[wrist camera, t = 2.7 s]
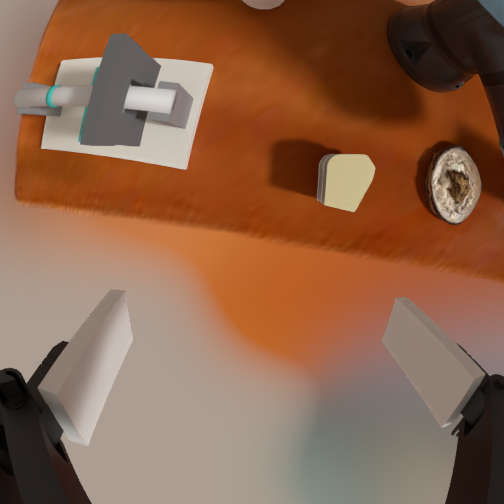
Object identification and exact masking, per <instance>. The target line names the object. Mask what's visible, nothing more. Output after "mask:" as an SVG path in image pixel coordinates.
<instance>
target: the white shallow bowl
mask: <svg viewBox="0 0 504 504" xmlns="http://www.w3.org/2000/svg"><path fill="white" fill-rule="evenodd" d="M454 141H455V140H454ZM432 153H433V154H434V156H433V158H432V161H431V163H430V166H429V167H428V175H427V177H426V180H425V192H426V194H427V196H428V197H427V198H428V204H429V207H430V209H431V211H432V212H433V213H434V214H436V215H438V216H439V217H440V218H441V219H442V220H444V221H445V222H447V223H449V224H452V225H457V224H460V223H461V222H463V221H464V220H465V219H466V218H467V217H468V216H469V214H470V213H471V212H472V210H473V209H474V207H475V206H476V203H477V202H478V199H479V197H480V193H481V179H480V174H479V171H478V168H477V166H476V164H475V163H474V161H473V159H472V158H471V156H470V155H469V153H468V152H467V151H466V150H465V149H464V148H463V147H462V146H459V145H450V146H447V147H444V148H443V149H441V150H440V151H439V152H437V153H436V154H435V153H434V152H432Z"/></svg>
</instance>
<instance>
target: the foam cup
mask: <svg viewBox="0 0 504 504" xmlns="http://www.w3.org/2000/svg"><path fill="white" fill-rule="evenodd" d="M242 1H243V2H244V3H246V4H247V5H248V6H250V7H253V8H257V9H272V8H275V7H278V6H280V5H281V4H282V3H283V2H284V1H285V0H242Z"/></svg>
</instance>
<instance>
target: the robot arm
mask: <svg viewBox="0 0 504 504" xmlns="http://www.w3.org/2000/svg"><path fill="white" fill-rule="evenodd" d="M387 35H388V40H389V43H390V46H391V49H392V51H393V53H394V55H395V57H396V59H397V60H398V62H399V63H400V65H401V66H402V67H403V69H404V70H405V71H406V72H407V73H408V74H409V75H410V76H411V77H412V78H413V79H414V80H415V81H416V82H418V83H419V84H420V85H422V86H423V87H425V88H427V89H429V90H432V91H435V92H441V93H443V92H449V91H454V90H457V89H459V88H460V87H462V86H463V85H464V84H465V83H466V82H467V81H469V80H470V79H471V78H472V77H473V76H474V75H475V74H479V76H480V78H481V81H482V83H483V87H484V89H485V92H486V95H487V98H488V101H489V104H490V107H491V110H492V113H493V117H494V120H495V124H496V127H497V131H498V135H499V145H500V148H501V150H502V152H503V156H504V0H435V1H433V2H432V3H430V4H425V5H418V6H408V7H404V8H402V9H400V10H399V11H398V12H396V13H395V14H394V15H393V16H392V17H391V18H390V20H389V22H388V26H387ZM132 341H133V337H132V331H131V326H130V320H129V313H128V307H127V300H126V292H125V291H121V290H110V291H109V292H108V293H107V295H106V296H105V297H104V298H103V299H102V301H101V302H100V303H99V304H98V306H97V307H96V308H95V309H94V311H93V312H92V313H91V314H90V316H89V317H88V318H87V319H86V321H85V322H84V323H83V325H82V326H81V327H80V328H79V330H78V331H77V332H76V334H75V335H74V336H73V338H72V339H71V340H70V342H65V341H62V342H61V343H59V344H57V345H56V346H54V347H53V348H52V350H51V351H50V352H49V353H48V355H47V358H45V359H44V360H43V361H42V364H40V366H39V367H38V368H37V370H36V371H35V372H34V374H33V375H32V377H31V378H30V380H29V381H28V382H27V384H26V382H25V380H24V378H23V376H22V374H21V373H20V372H19V371H18V370H17V369H13V368H5V369H3V370H0V504H92V503H91V502H90V500H89V498H88V496H87V494H86V492H85V491H84V489H83V487H82V485H81V483H80V481H79V479H78V477H77V474H76V472H75V470H74V468H73V466H72V464H71V461H70V459H69V457H68V454H67V452H66V449H65V447H64V444H63V442H62V441H61V439H60V438H61V435H62V433H63V432H64V433H65V434H66V436H67V437H68V439H69V440H70V441H73V442H75V443H78V444H82V445H85V446H88V444H89V442H90V439H91V436H92V434H93V431H94V428H95V426H96V423H97V421H98V418H99V416H100V413H101V411H102V408H103V406H104V404H105V401H106V399H107V396H108V394H109V392H110V389H111V387H112V385H113V383H114V380H115V378H116V376H117V373H118V371H119V369H120V367H121V365H122V362H123V360H124V358H125V356H126V354H127V351H128V349H129V347H130V345H131V343H132ZM382 343H383V344H384V345H385V347H386V348H387V349H388V351H389V352H390V353H391V355H392V356H393V358H394V359H395V360H396V362H397V363H398V365H399V366H400V367H401V369H402V370H403V371H404V373H405V374H406V376H407V377H408V379H409V380H410V382H411V383H412V384H413V386H414V387H415V389H416V390H417V392H418V393H419V395H420V396H421V398H422V399H423V400H424V402H425V403H426V405H427V406H428V408H429V409H430V411H431V412H432V414H433V415H434V417H435V418H436V420H437V421H438V423H439V425H440V426H441V427H445V426H447V425H449V424H452V423H454V421H455V420H456V419H457V417H458V416H459V414H460V413H461V414H462V415H463V416H464V417H463V418H462V420H461V421H460V422H459V424H458V425H457V426H456V427H455V429H454V430H453V431H452V434H451V435H454V433H455V432H456V431H457V430H459V432H458V433H457V435H456V436H458V444H457V451H456V457H455V463H454V468H453V474H452V478H451V483H450V487H449V491H448V495H447V499H446V502H445V504H504V377H503V376H501V375H497V374H494V375H492V376H491V377H490V376H489V375H488V374H487V373H486V372H485V371H484V370H483V369H482V367H481V366H480V365H479V364H478V363H477V362H476V361H475V360H474V359H472V357H471V356H470V355H469V354H467V352H466V351H465V350H464V349H463V348H462V347H461V346H460V345H458V344H457V343H455V342H454V341H453V340H452V339H451V338H450V337H449V336H448V335H447V334H446V333H445V332H444V331H443V330H442V329H441V328H440V327H439V326H438V325H437V324H435V323H434V322H433V321H432V320H431V319H430V318H429V317H428V316H427V315H426V314H425V313H424V312H423V311H422V310H421V309H419V308H418V307H417V306H416V305H415V304H414V303H413V302H412V301H411V300H409V299H408V298H407V297H403V298H396V300H395V303H394V306H393V309H392V313H391V316H390V319H389V322H388V325H387V328H386V331H385V334H384V337H383V340H382Z"/></svg>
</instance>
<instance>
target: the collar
mask: <svg viewBox="0 0 504 504" xmlns="http://www.w3.org/2000/svg"><path fill="white" fill-rule="evenodd" d="M160 68H161V65H159V64H158V63H157V62H156V61H155V60H154V59H153V58H151V57H150V56H149V55H148V54H147V53H146V52H145V51H143V50H142V47H140V46H139V45H138V44H137V43H136V42H135V41H134V40H133V39H132V38H131V37H130V36H128V35H127V34H126V33H124V34H111V36H110V38H109V41H108V44H107V46H106V49H105V52H104V54H103V57H102V60H101V63H100V66H99V69H98V72H97V75H96V79H95V82H94V85H93V89H92V93H91V96H90V100H89V104H88V108H87V112H86V117H85V121H84V126H83V131H82V136H81V141H80V145H89V146H115V145H123V146H137V147H140V143H141V139H142V134H143V130H144V125H145V121H146V117H147V113H148V111H142V110H133V109H125V111H124V112H123V108H124V104H125V100H126V96H127V93H128V89H129V86H130V84H131V86H136V87H149V88H155V84H156V81H157V78H158V75H159V71H160Z"/></svg>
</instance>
